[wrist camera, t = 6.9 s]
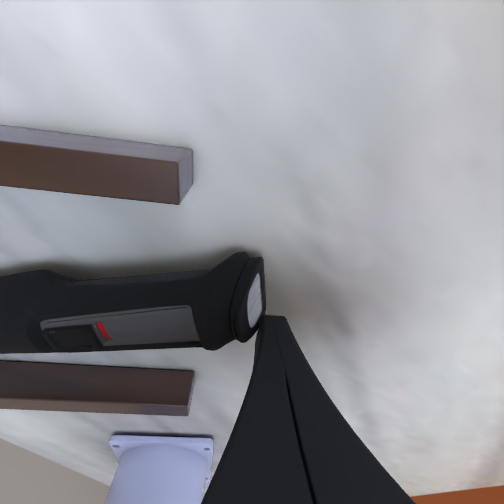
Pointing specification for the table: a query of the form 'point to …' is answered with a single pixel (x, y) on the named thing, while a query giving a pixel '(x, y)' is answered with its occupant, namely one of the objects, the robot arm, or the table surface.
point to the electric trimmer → (132, 309)
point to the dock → (105, 185)
